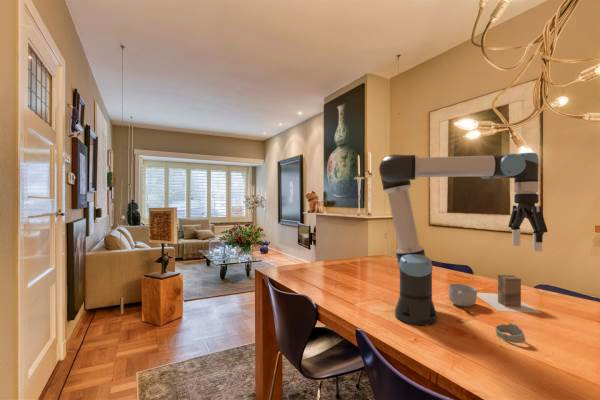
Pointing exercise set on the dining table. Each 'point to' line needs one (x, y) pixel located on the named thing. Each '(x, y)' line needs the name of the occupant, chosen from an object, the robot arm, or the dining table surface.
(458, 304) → the teacup
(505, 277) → the walnut block
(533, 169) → the robot arm
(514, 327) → the wristwatch
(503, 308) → the mat
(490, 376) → the dining table surface
